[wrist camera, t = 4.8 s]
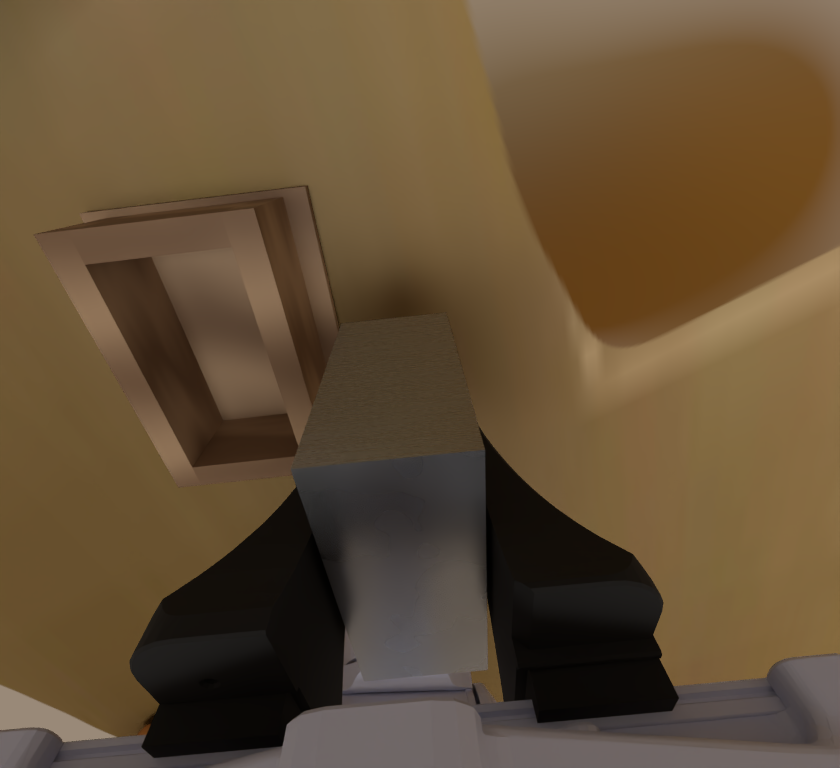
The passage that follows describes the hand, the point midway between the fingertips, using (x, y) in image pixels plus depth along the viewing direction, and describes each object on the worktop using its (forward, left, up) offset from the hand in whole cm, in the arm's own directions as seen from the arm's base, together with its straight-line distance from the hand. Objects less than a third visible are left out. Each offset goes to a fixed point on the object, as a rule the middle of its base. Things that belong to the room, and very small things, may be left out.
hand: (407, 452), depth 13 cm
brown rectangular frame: (+1, +8, -9) cm, 13 cm away
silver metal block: (0, 0, -2) cm, 2 cm away
